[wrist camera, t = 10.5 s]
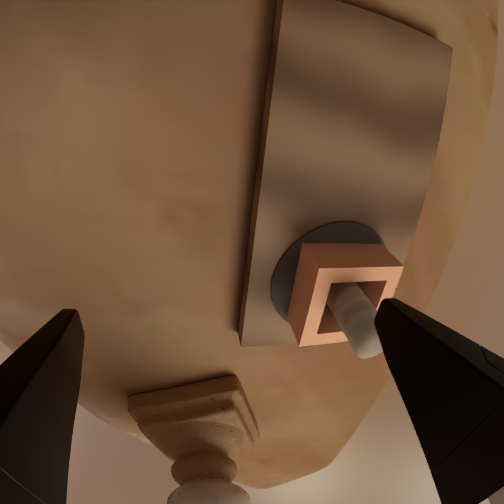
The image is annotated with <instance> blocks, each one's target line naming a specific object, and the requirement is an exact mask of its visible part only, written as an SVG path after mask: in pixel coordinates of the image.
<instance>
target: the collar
mask: <svg viewBox="0 0 504 504" xmlns="http://www.w3.org/2000/svg"><path fill="white" fill-rule="evenodd" d="M403 268H404V266H403V265H402V264H401V263H400V262H399V261H398V260H397V259H396V258H395V257H394V256H393V255H392V254H391V253H390V252H389V251H388V250H387V249H386V248H385V247H384V246H383V245H382V244H352V243H302V247H301V252H300V257H299V262H298V267H297V272H296V277H295V282H294V287H293V292H292V297H291V301H290V306H289V311H288V315H287V318H288V321H289V323H290V326H291V328H292V330H293V333H294V335H295V338H296V340H297V343H298V345H299V346H309V345H319V344H328V343H336V342H344V341H348V339H347V338H346V336H345V334H344V332H343V331H342V329H341V327H340V325H339V324H338V322H337V320H336V318H335V317H334V315H333V313H332V311H331V310H330V308H329V306H328V304H326V300H327V297H328V293H329V290H330V286H331V283H342V282H358V286H359V287H360V288H361V290H362V291H363V292H364V294H365V295H366V296H367V298H368V299H369V300H370V302H371V303H372V305H373V306H374V307H375V309H376V310H377V311H378V308H379V305H380V303H381V301H382V300H383V299H385V298H392V297H393V295H394V292H395V289H396V287H397V284H398V281H399V279H400V276H401V273H402V270H403Z"/></svg>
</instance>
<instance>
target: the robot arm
mask: <svg viewBox="0 0 504 504" xmlns="http://www.w3.org/2000/svg"><path fill="white" fill-rule="evenodd" d="M374 325H375V329H376V332H377V334H378V337H379V340H380V343H381V346H382V349H383V352H384V355H385V358H386V361H387V364H388V366H389V369H390V371H391V374H392V376H393V378H394V380H395V382H396V385H397V387H398V390H399V392H400V394H401V397H402V399H403V401H404V404H405V406H406V409H407V411H408V413H409V416H410V418H411V421H412V423H413V426H414V428H415V431H416V434H417V436H418V438H419V441H420V444H421V447H422V449H423V452H424V454H425V457H426V460H427V463H428V465H429V468H430V470H431V474H432V477H433V480H434V483H435V486H436V488H437V491H438V494H439V497H440V500H441V503H442V504H479V503H480V502H482V501H484V500H485V499H487V498H488V499H489V501H490V503H491V504H504V358H502V357H500V356H498V355H497V354H495V353H493V352H491V351H489V350H487V349H486V348H484V347H482V346H479V344H477V343H475V342H473V341H472V340H470V339H468V338H466V337H465V336H463V335H461V334H459V333H458V332H456V331H454V330H452V329H450V328H448V327H447V326H445V325H443V324H441V323H440V322H438V321H436V320H434V319H432V318H431V317H429V316H427V315H425V314H423V313H422V312H420V311H418V310H416V309H414V308H412V307H411V306H409V305H407V304H405V303H403V302H401V301H400V300H398V299H396V298H385V299H383V300H382V301H381V303H380V305H379V308H378V311H377V313H376V316H375V319H374ZM83 348H84V330H83V327H82V323H81V320H80V316H79V313H78V311H77V310H76V309H63V310H61V311H60V312H59V313H58V314H56V315H55V316H54V317H53V318H52V319H51V320H50V321H48V322H47V323H46V324H45V325H44V326H43V327H41V328H40V329H39V330H38V331H37V332H36V333H35V334H34V335H32V336H31V337H30V338H29V339H28V340H27V341H26V342H25V343H24V344H22V345H21V346H20V347H19V348H18V349H17V350H16V351H15V352H14V353H13V354H12V355H11V356H9V357H8V358H7V359H6V360H5V361H4V362H3V363H2V364H1V365H0V504H66V497H67V482H68V481H67V480H68V470H69V459H70V458H69V457H70V450H71V441H72V434H73V426H74V420H75V413H76V407H77V401H78V395H79V389H80V381H81V369H82V358H83Z"/></svg>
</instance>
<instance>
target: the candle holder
mask: <svg viewBox="0 0 504 504" xmlns="http://www.w3.org/2000/svg"><path fill="white" fill-rule="evenodd" d="M128 411H129V413H130V415H131V416H132V417H133V418H134V420H135V421H136V422H137V423H138V426H139V428H140V430H141V431H142V433H143V434H144V435H145V436H146V437H147V438H148V439H149V440H150V442H151V443H152V444H153V445H154V446H155V447H156V448H157V449H159V450H160V451H161V452H162V453H163V454H164V455H165V456H167V457H168V458H169V459H170V460H172V461H173V462H174V464H173V465H172V467H171V474H172V476H173V478H174V479H175V481H176V482H177V483H179V484H180V485H181V486H180V487H178V488H176V489H175V490H174V491H173V492H172V493H171V494H170V495H169V497H168V500H167V504H251V502H250V497H249V495H248V494H247V492H246V491H245V490H244V489H242V488H241V487H239V486H238V485H236V484H233V483H231V482H232V480H233V479H234V478H235V476H236V474H237V466H236V464H235V462H234V461H233V460H232V459H231V458H230V457H232V456H233V455H234V454H237V453H241V452H245V451H248V450H251V449H253V448H254V443H253V441H254V440H257V439H259V431H258V427H257V423H256V420H255V417H254V415H253V412H252V410H251V408H250V405H249V403H248V400H247V398H246V396H245V393H244V391H243V388H242V386H241V384H240V382H239V380H238V378H237V376H235V375H228V376H223V377H218V378H213V379H209V380H205V381H200V382H195V383H191V384H186V385H181V386H176V387H171V388H166V389H161V390H155V391H150V392H144V393H139V394H134V395H131V396H129V403H128Z"/></svg>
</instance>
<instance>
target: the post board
mask: <svg viewBox="0 0 504 504" xmlns="http://www.w3.org/2000/svg"><path fill="white" fill-rule="evenodd" d="M451 58H452V47H451V46H449V45H447V44H445V43H443V42H441V41H439V40H437V39H435V38H433V37H431V36H429V35H427V34H424V33H422V32H420V31H418V30H416V29H413V28H411V27H409V26H407V25H404V24H402V23H399V22H397V21H395V20H392V19H389V18H387V17H384V16H382V15H379V14H376V13H373V12H371V11H368V10H365V9H362V8H359V7H356V6H353V5H350V4H346V3H343V2H340V1H336V0H277V5H276V13H275V21H274V30H273V38H272V46H271V54H270V62H269V71H268V79H267V87H266V96H265V104H264V112H263V121H262V129H261V138H260V146H259V155H258V163H257V172H256V180H255V189H254V198H253V206H252V215H251V223H250V232H249V241H248V250H247V258H246V267H245V276H244V285H243V294H242V303H241V311H240V320H239V329H238V336H239V340H240V345H241V347H250V346H266V345H281V344H294V343H297V340H296V338H295V335H294V333H293V330H292V328H291V326H290V323H289V321H288V318H287V315H288V311H289V306H290V301H291V297H292V292H293V287H294V282H295V277H296V272H297V267H298V262H299V257H300V252H301V247H302V243H352V244H382V245H383V246H384V247H385V248H386V249H387V250H388V251H389V252H390V253H391V254H392V255H393V256H394V257H395V258H396V259H397V260H398V261H399V262H400V263H401V264H402V265H404V263H405V260H406V257H407V254H408V251H409V248H410V245H411V242H412V239H413V236H414V233H415V229H416V226H417V223H418V220H419V216H420V213H421V210H422V206H423V203H424V199H425V195H426V192H427V188H428V184H429V180H430V176H431V172H432V168H433V164H434V160H435V155H436V151H437V146H438V141H439V137H440V132H441V126H442V121H443V115H444V110H445V104H446V97H447V91H448V83H449V76H450V67H451ZM326 304H328V306H329V308H330V310H331V311H332V313H333V315H334V317H335V318H336V320H337V322H338V324H339V325H340V327H341V329H342V331H343V332H344V334H345V336H346V338H347V339H348V341H349V343H350V345H351V346H352V348H353V350H354V352H355V354H356V355H357V356H358V357H359V358H370V357H373V356H375V355H377V354H379V353H381V352H382V351H383V349H382V346H381V343H380V340H379V337H378V334H377V332H376V329H375V325H374V319H375V316H376V313H377V310H376V309H375V307H374V306H373V305H372V303H371V302H370V300H369V299H368V298H367V296H366V295H365V294H364V292H363V291H362V290H361V288H360V287H359V286H358V282H342V283H331V286H330V290H329V293H328V297H327V300H326Z"/></svg>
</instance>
